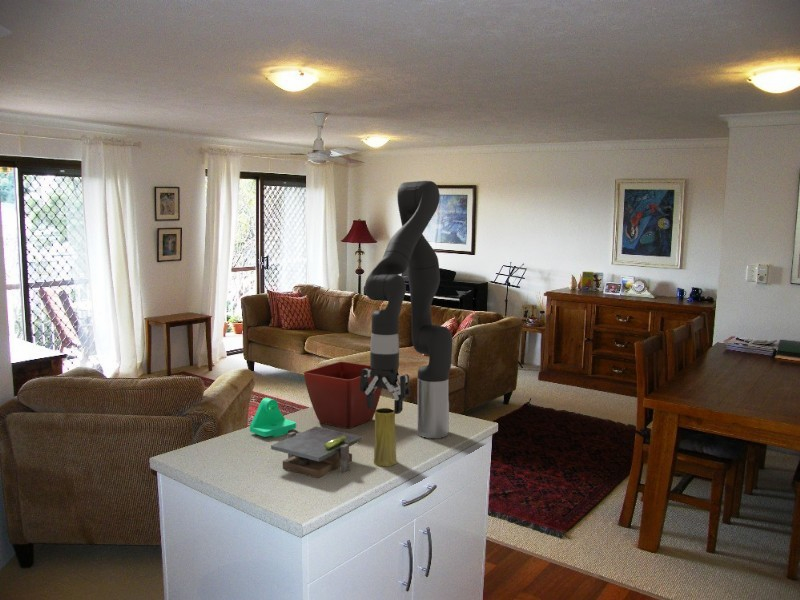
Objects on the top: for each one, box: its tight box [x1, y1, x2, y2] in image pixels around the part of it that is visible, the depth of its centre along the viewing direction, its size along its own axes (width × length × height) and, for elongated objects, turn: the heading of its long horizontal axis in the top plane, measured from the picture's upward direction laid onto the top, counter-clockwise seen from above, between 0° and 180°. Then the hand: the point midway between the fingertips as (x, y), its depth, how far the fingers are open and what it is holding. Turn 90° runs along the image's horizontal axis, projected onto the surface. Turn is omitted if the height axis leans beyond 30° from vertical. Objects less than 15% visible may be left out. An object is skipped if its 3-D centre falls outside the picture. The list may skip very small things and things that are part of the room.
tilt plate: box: [270, 426, 363, 461], centre depth 173 cm, size 18×16×3 cm
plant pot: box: [303, 361, 383, 429], centre depth 211 cm, size 19×19×17 cm
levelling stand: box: [282, 431, 353, 479], centre depth 174 cm, size 14×19×7 cm
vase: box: [373, 407, 398, 467], centre depth 175 cm, size 6×6×14 cm
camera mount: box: [249, 397, 297, 438], centre depth 200 cm, size 12×8×10 cm, turn 137°
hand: (384, 410), depth 174 cm, fingers open, 8 cm apart
